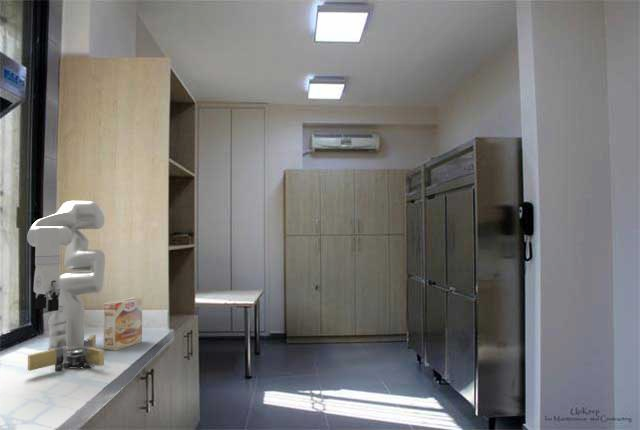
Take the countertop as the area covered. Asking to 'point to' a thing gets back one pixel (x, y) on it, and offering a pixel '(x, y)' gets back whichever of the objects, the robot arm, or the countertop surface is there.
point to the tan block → (92, 356)
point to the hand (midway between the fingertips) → (47, 309)
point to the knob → (90, 341)
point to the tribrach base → (67, 365)
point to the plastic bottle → (57, 330)
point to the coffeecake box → (122, 323)
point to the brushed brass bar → (46, 359)
